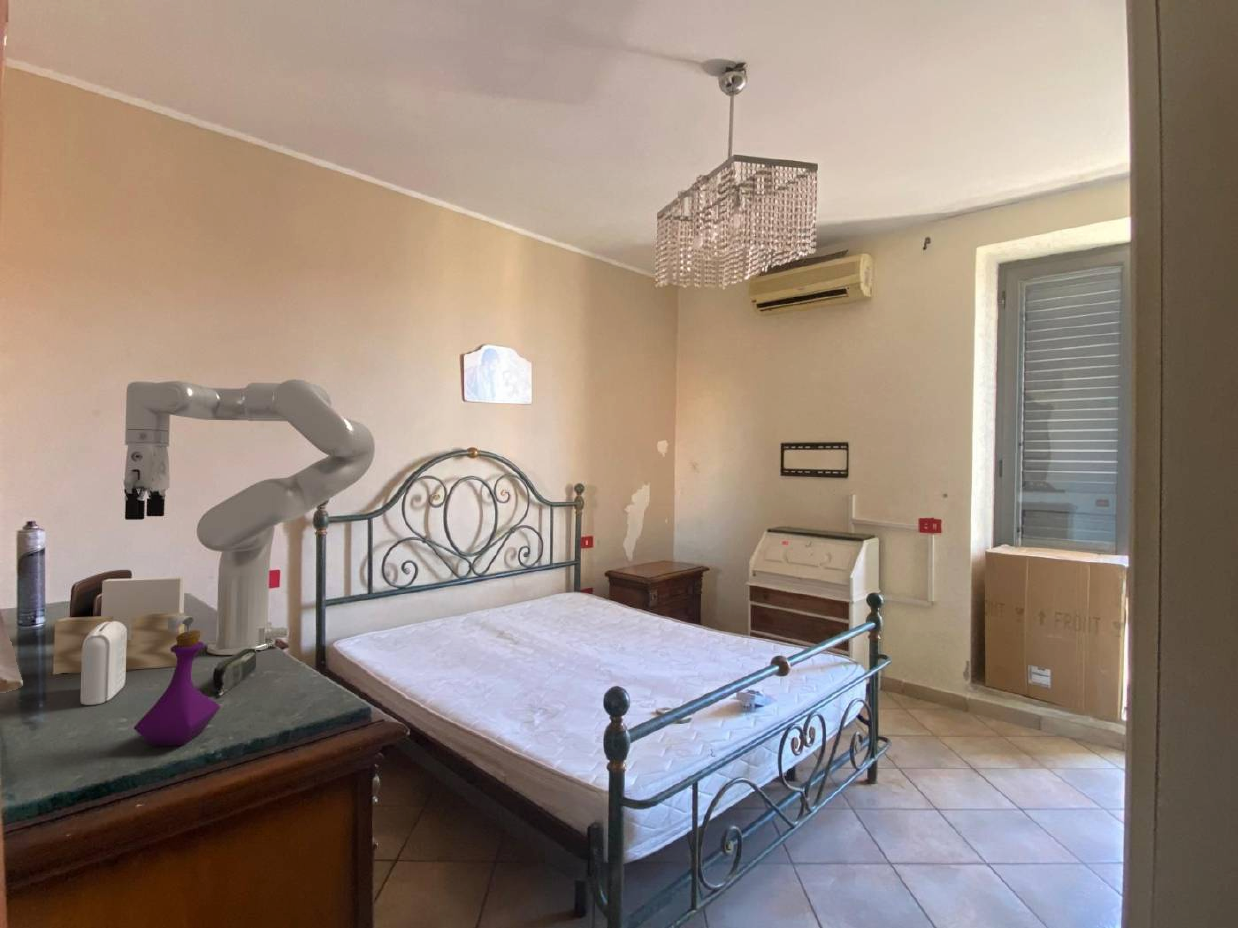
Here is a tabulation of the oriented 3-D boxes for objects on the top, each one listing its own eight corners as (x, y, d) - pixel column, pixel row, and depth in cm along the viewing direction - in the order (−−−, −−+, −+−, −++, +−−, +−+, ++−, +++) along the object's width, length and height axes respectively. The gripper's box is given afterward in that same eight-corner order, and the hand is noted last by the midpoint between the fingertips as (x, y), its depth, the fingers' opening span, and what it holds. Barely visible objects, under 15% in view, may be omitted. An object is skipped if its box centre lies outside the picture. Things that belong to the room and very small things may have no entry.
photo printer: (98, 687, 106) (100, 617, 106) (128, 683, 107) (130, 615, 108) (75, 707, 96) (78, 631, 97) (109, 704, 98) (112, 629, 98)
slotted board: (183, 662, 120) (184, 612, 120) (178, 666, 117) (179, 615, 117) (61, 670, 114) (63, 617, 114) (53, 674, 111) (55, 621, 112)
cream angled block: (182, 644, 132) (184, 576, 132) (177, 647, 129) (180, 578, 129) (106, 648, 127) (108, 579, 128) (99, 652, 125) (102, 581, 125)
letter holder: (66, 643, 132) (69, 579, 132) (126, 621, 151) (128, 565, 151) (117, 642, 133) (119, 579, 133) (169, 620, 153) (171, 565, 153)
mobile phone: (242, 646, 116) (206, 669, 101) (259, 645, 117) (225, 668, 102) (241, 672, 116) (204, 698, 101) (258, 671, 116) (224, 697, 102)
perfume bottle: (168, 728, 89) (172, 608, 90) (220, 727, 90) (224, 608, 90) (131, 751, 82) (136, 621, 82) (188, 750, 83) (193, 621, 83)
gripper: (150, 437, 122) (147, 520, 121) (183, 441, 138) (181, 514, 138) (105, 436, 119) (103, 521, 119) (145, 440, 136) (143, 515, 136)
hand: (145, 517), depth 129 cm, fingers open, 9 cm apart
